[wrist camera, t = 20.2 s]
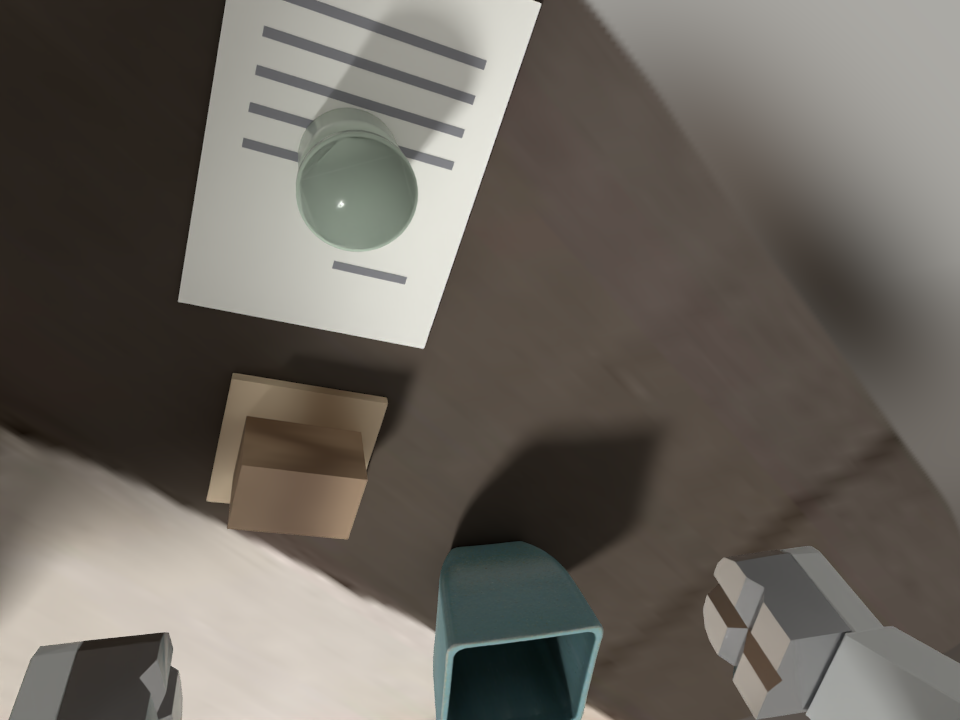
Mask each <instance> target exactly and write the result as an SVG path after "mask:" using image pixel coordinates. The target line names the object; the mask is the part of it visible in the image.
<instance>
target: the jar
mask: <svg viewBox="0 0 960 720" xmlns="http://www.w3.org/2000/svg"><path fill="white" fill-rule="evenodd" d="M296 200H297V205H298V209H299V212H300V214H301V217H302V219H303V220H304V222H305V224H306V225H307V227H308V228H309V229H310V230H311V232H312V233H314V234H315V235H316V236H317V237H318V238H319V239H321V240H322V241H323V242H325V243H327V244H328V245H330V246H333V247H335V248H338V249H341V250H345V251H351V252H364V251H371V250H375V249H378V248H381V247H383V246H385V245H387V244H389V243H391V242H392V241H394V240H395V239H396V238H398V237H399V236H400V235H401V234H402V233H403V232H404V231H405V230H406V228H407V227H408V225H409V224H410V222H411V220H412V218H413V216H414V213H415V211H416V207H417V202H418V186H417V180H416V177H415V174H414V171H413V169H412V167H411V165H410V163H409V161H408V159H407V158H406V156H405V155H404V154H403V152H402V151H401V150H400V148H399V146H398V144H397V142H396V140H395V138H394V136H393V134H392V132H391V131H390V129H389V128H388V127H387V126H386V125H385V123H383V122H382V121H381V120H380V119H379V118H377V117H376V116H375V115H373V114H371V113H369V112H367V111H364V110H361V109H356V108H338V109H333V110H330V111H327V112H325V113H323V114H321V115H320V116H319V117H317V118H316V119H315V120H314V121H312V122H311V123H310V125H309V126H308V127H307V128H306V130H305V132H304V133H303V136H302V138H301V140H300V144H299V149H298V173H297V178H296Z"/></svg>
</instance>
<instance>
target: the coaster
mask: <svg viewBox="0 0 960 720" xmlns="http://www.w3.org/2000/svg"><path fill="white" fill-rule="evenodd" d="M387 405H388V401H387V398H386V397H380V396H374V395H368V394H361V393H355V392H349V391H343V390H337V389H331V388H325V387H318V386H312V385H306V384H300V383H294V382H288V381H281V380H275V379H269V378H263V377H257V376H251V375H244V374H238V373H233V374H232V379H231V384H230V389H229V393H228V398H227V403H226V408H225V413H224V417H223V422H222V427H221V432H220V437H219V441H218V446H217V451H216V456H215V461H214V466H213V470H212V475H211V480H210V485H209V490H208V495H207V501H209V502H219V503H229V504H230V498H231V489H232V480H233V474H234V469H235V465H236V460H237V456H238V452H239V447H240V443H241V438H242V434H243V429H244V425H245V421H246V416H251V417H258V418H265V419H272V420H279V421H286V422H293V423H300V424H307V425H314V426H321V427H328V428H335V429H342V430H349V431H356V432H361V435H362V443H363V450H364V458H365V465H366V469H367V466H368V463H369V460H370V457H371V454H372V451H373V448H374V445H375V442H376V439H377V436H378V433H379V430H380V427H381V424H382V421H383V418H384V414H385V411H386V408H387Z"/></svg>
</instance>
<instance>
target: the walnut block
mask: <svg viewBox="0 0 960 720" xmlns="http://www.w3.org/2000/svg"><path fill="white" fill-rule="evenodd" d="M366 483H367V473H366V465H365V458H364V450H363V443H362V435H361V432H356V431H349V430H342V429H335V428H328V427H321V426H314V425H307V424H300V423H293V422H286V421H279V420H272V419H265V418H258V417H251V416H246V421H245V425H244V429H243V434H242V438H241V443H240V447H239V452H238V456H237V460H236V465H235V469H234V474H233V480H232V489H231V498H230V507H229V516H228V525H227V529H236V530H247V531H259V532H270V533H281V534H293V535H304V536H316V537H327V538H338V539H348V537H349V534H350V531H351V528H352V525H353V522H354V519H355V516H356V513H357V510H358V507H359V504H360V501H361V498H362V495H363V492H364V489H365V486H366Z"/></svg>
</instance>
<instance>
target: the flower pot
mask: <svg viewBox="0 0 960 720" xmlns="http://www.w3.org/2000/svg"><path fill="white" fill-rule="evenodd" d="M602 637H603V627H602V625H601V624H600V622H599V621H598V619H597V617H596V616H595V614H594V612H593V611H592V609H591V608H590V606H589V604H588V603H587V601H586V600H585V598H584V596H583V595H582V593H581V592H580V590H579V588H578V587H577V585H576V584H575V582H574V581H573V579H572V578H571V576H570V575H569V574H568V572H567V571H566V570H565V568H564V567H563V566H562V565H561V564H560V563H559V562H558V561H557V560H556V559H555V558H553V557H552V556H551V555H549V554H548V553H546V552H545V551H543V550H542V549H540V548H538V547H536V546H533V545H531V544H528V543H526V542H523V541H516V542H506V543H498V544H489V545H477V546H466V547H457V548H454V549H452V550H451V551H450V552H449V554H448V555H447V557H446V559H445V561H444V563H443V566H442V570H441V574H440V581H439V595H438V608H437V621H436V633H435V643H434V656H433V677H434V692H435V706H436V720H581V718H582V715H583V712H584V708H585V703H586V699H587V695H588V690H589V686H590V681H591V677H592V674H593V670H594V666H595V662H596V657H597V654H598V650H599V646H600V644H601V640H602Z"/></svg>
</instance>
